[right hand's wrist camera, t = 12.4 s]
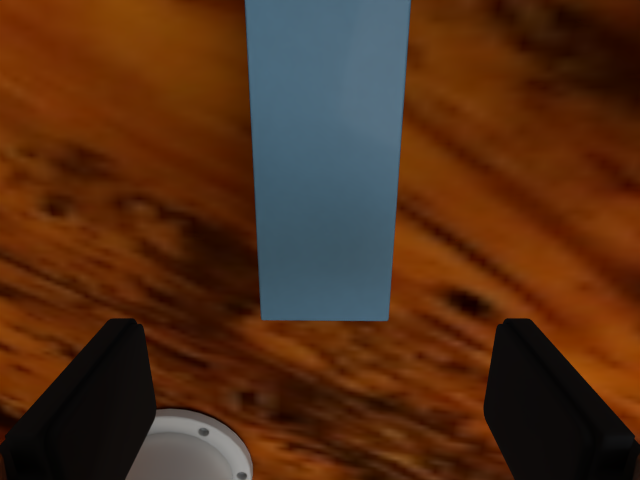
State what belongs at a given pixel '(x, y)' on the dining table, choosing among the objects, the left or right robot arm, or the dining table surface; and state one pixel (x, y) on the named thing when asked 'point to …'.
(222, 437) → the right robot arm
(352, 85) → the blue slab
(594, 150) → the dining table surface
